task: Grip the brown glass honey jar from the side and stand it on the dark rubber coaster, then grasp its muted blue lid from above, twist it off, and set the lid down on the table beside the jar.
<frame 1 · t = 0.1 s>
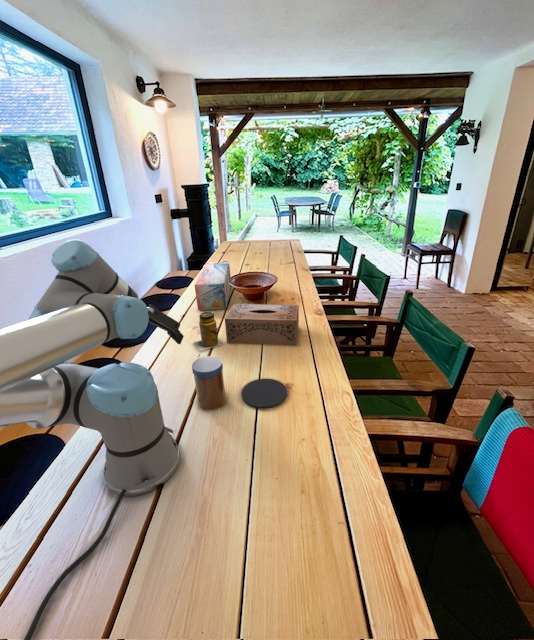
hand: (160, 337, 93), 15 cm above the table, tool tilted 35°, fingers open, 13 cm apart
coaster: (264, 393, 91), on the table
soda box: (216, 296, 167), on the table
jar: (212, 400, 90), on the table
condiment: (208, 344, 120), on the table
lid: (207, 365, 85), point 12 cm above the table, screwed on, not yet turned
tissue box cover: (264, 335, 124), on the table
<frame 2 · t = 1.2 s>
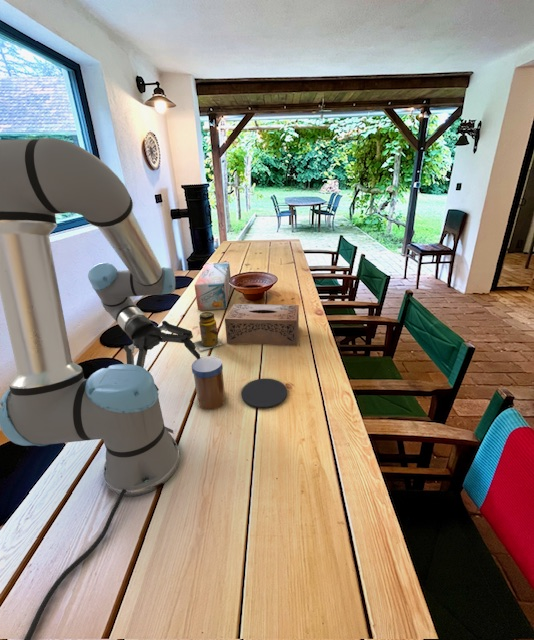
hand: (178, 372, 86), 9 cm above the table, tool tilted 65°, fingers open, 13 cm apart
nothing on the table moved.
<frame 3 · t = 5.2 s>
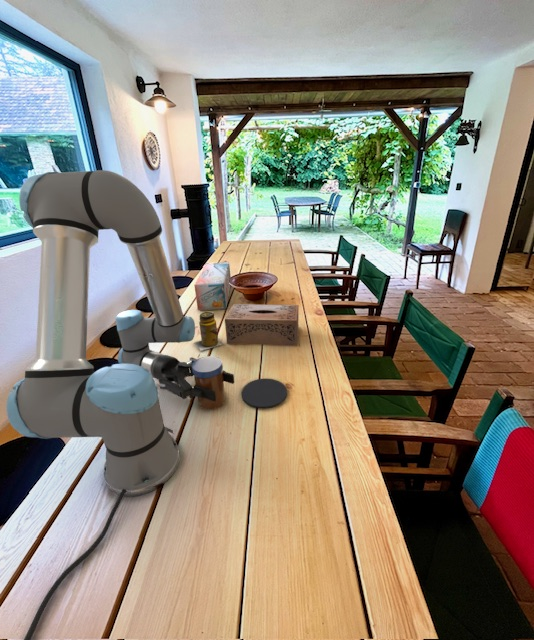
hand: (224, 387, 85), 6 cm above the table, tool horizontal, fingers closed on jar, 8 cm apart
jar: (212, 400, 90), on the table, touching gripper
everything else where it was.
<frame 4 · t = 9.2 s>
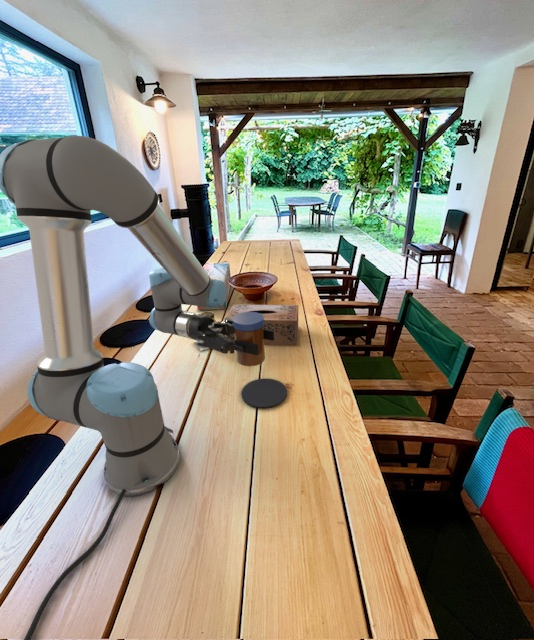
hand: (265, 342, 82), 18 cm above the table, tool horizontal, fingers closed on jar, 8 cm apart
jar: (250, 358, 86), point 12 cm above the table, touching gripper
lid: (248, 319, 81), point 23 cm above the table, screwed on, not yet turned
everything else where it was.
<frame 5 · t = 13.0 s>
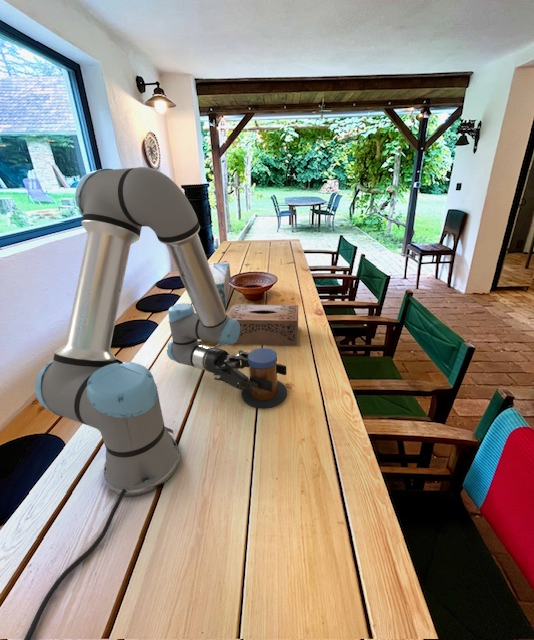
hand: (279, 378, 87), 7 cm above the table, tool horizontal, fingers closed on jar, 8 cm apart
jar: (264, 391, 91), point 1 cm above the table, touching coaster, gripper
lid: (262, 356, 86), point 12 cm above the table, screwed on, not yet turned
everything else where it was.
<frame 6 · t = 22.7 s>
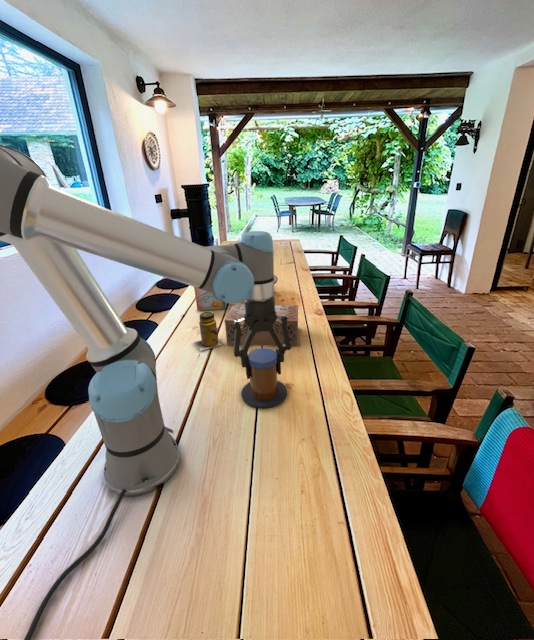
hand: (263, 373, 89), 7 cm above the table, tool pointing down, fingers closed on lid, 8 cm apart
jar: (264, 391, 91), point 1 cm above the table, touching coaster
lid: (262, 356, 86), point 12 cm above the table, screwed on, not yet turned, touching gripper
everything else where it was.
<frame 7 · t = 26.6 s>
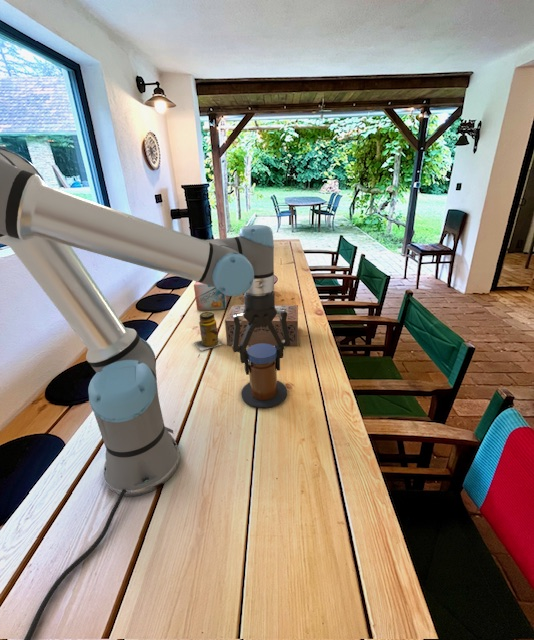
hand: (262, 369, 88), 8 cm above the table, tool pointing down, fingers closed on lid, 8 cm apart
lid: (261, 351, 86), point 14 cm above the table, off its thread, touching gripper
everything else where it was.
when the fingers open (0 cm above the table, at t = 33.2 s): lid drops 4 cm, point 1 cm above the table.
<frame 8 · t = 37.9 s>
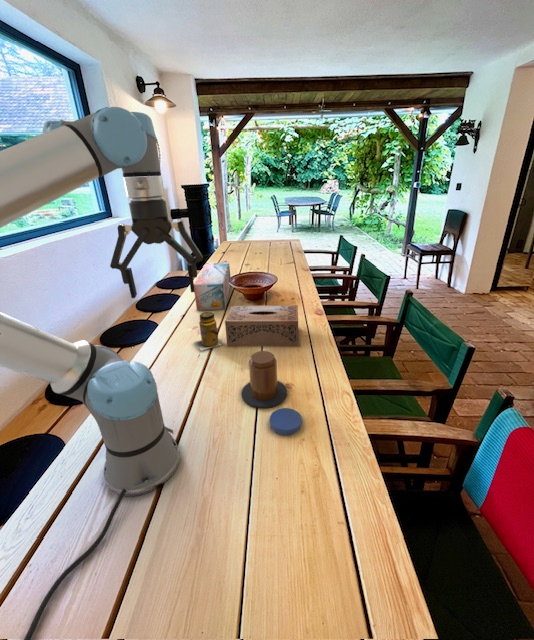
hand: (164, 293, 77), 32 cm above the table, tool pointing down, fingers open, 13 cm apart
lid: (285, 419, 79), point 1 cm above the table, off its thread
at the end: jar inside the target area on the coaster (0.1 cm from its centre), point 0.6 cm above the coaster's base; lid point 1.4 cm above the table; the gripper is holding nothing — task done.
